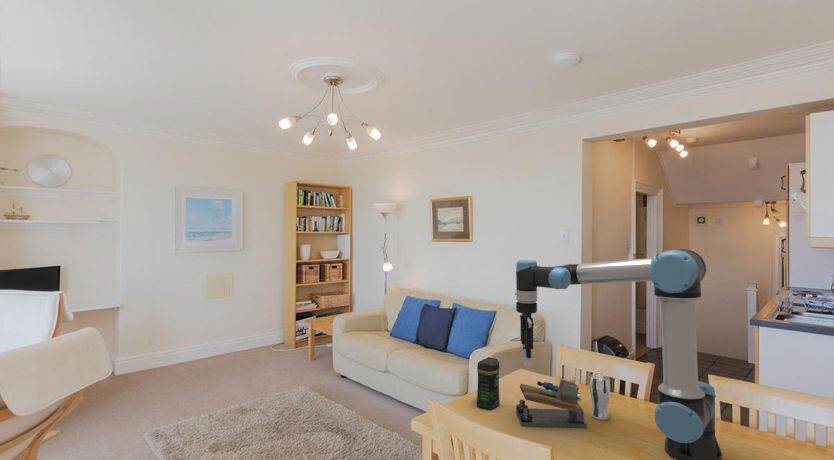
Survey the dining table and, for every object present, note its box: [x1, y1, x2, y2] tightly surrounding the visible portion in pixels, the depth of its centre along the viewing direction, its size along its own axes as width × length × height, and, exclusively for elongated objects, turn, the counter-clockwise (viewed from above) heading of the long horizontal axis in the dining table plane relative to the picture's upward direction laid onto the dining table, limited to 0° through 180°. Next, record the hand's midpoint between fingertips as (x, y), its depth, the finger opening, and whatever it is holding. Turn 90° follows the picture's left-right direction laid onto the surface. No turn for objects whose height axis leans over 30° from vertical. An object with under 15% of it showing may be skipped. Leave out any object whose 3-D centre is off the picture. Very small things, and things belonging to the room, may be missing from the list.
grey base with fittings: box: [515, 399, 588, 429], centre depth 156 cm, size 12×23×5 cm, turn 86°
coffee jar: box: [476, 356, 500, 410], centre depth 170 cm, size 10×8×19 cm
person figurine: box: [536, 381, 581, 402], centre depth 179 cm, size 11×4×18 cm
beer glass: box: [589, 373, 611, 421], centre depth 159 cm, size 7×7×15 cm
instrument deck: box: [519, 378, 583, 413], centre depth 156 cm, size 12×20×8 cm, turn 86°
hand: (526, 363), depth 157 cm, fingers open, 4 cm apart
